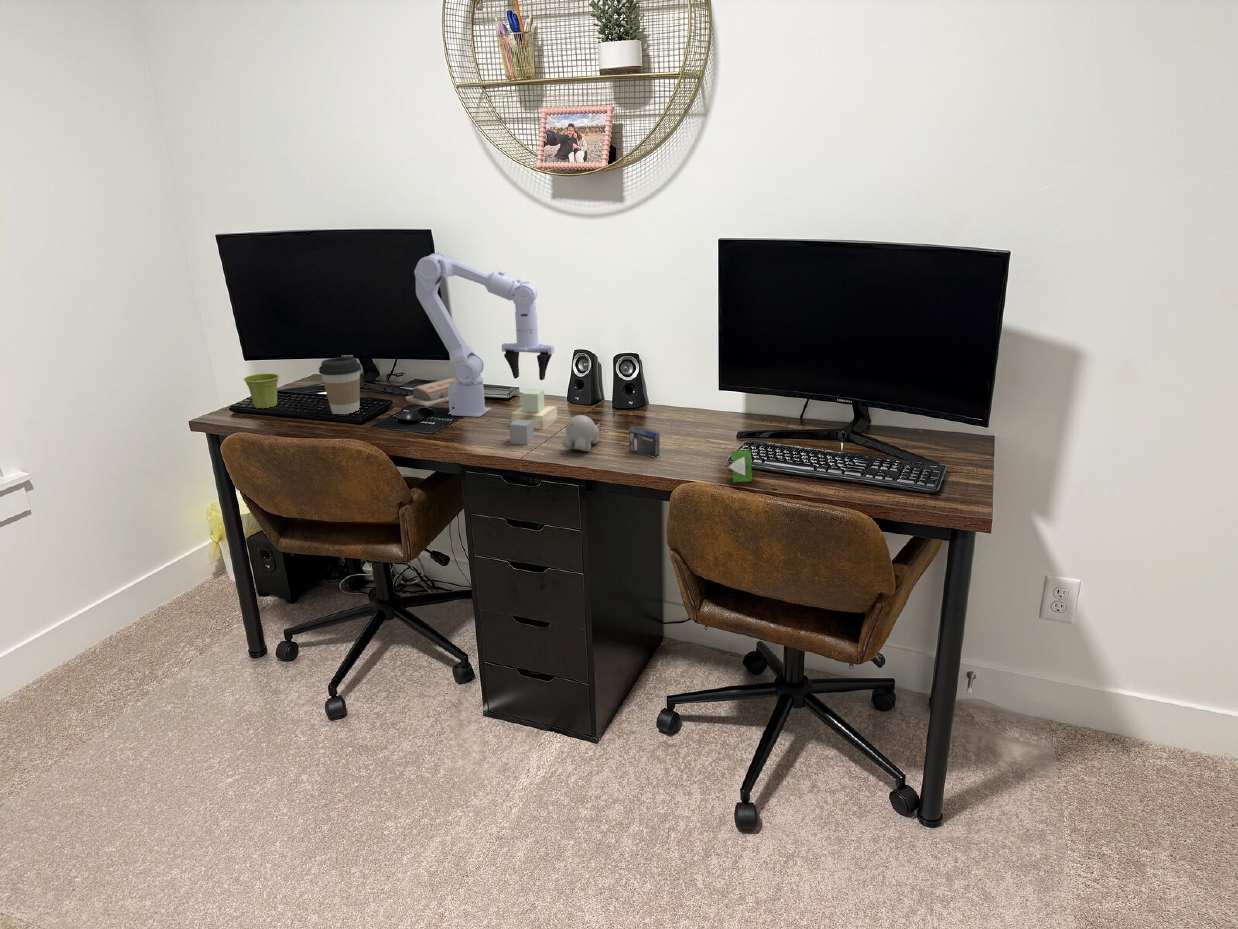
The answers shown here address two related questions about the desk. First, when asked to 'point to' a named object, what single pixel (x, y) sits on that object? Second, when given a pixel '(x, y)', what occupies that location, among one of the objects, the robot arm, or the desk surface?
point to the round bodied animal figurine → (581, 433)
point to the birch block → (537, 416)
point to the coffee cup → (342, 384)
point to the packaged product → (431, 393)
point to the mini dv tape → (644, 441)
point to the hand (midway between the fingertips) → (529, 378)
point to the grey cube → (521, 432)
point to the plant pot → (263, 389)
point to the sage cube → (533, 400)
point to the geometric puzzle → (741, 466)
